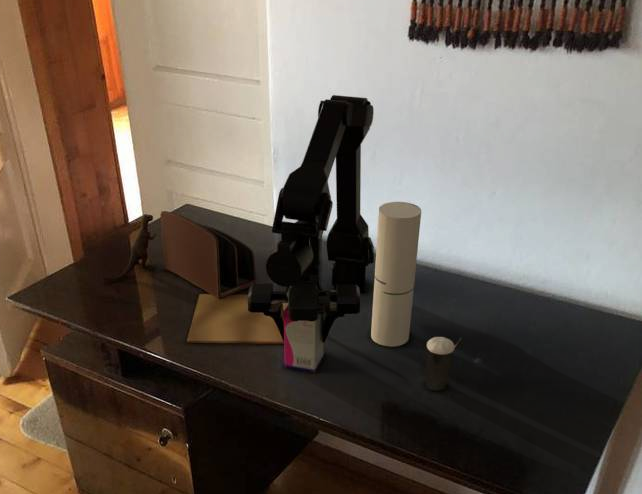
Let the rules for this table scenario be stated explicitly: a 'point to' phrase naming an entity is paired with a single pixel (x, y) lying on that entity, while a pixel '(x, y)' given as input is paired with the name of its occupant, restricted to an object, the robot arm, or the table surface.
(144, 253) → the dinosaur model
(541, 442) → the table surface
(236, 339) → the desk mat
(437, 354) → the milkshake
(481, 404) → the table surface
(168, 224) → the letter holder
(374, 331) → the cylindrical container
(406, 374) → the table surface
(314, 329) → the supplement box
